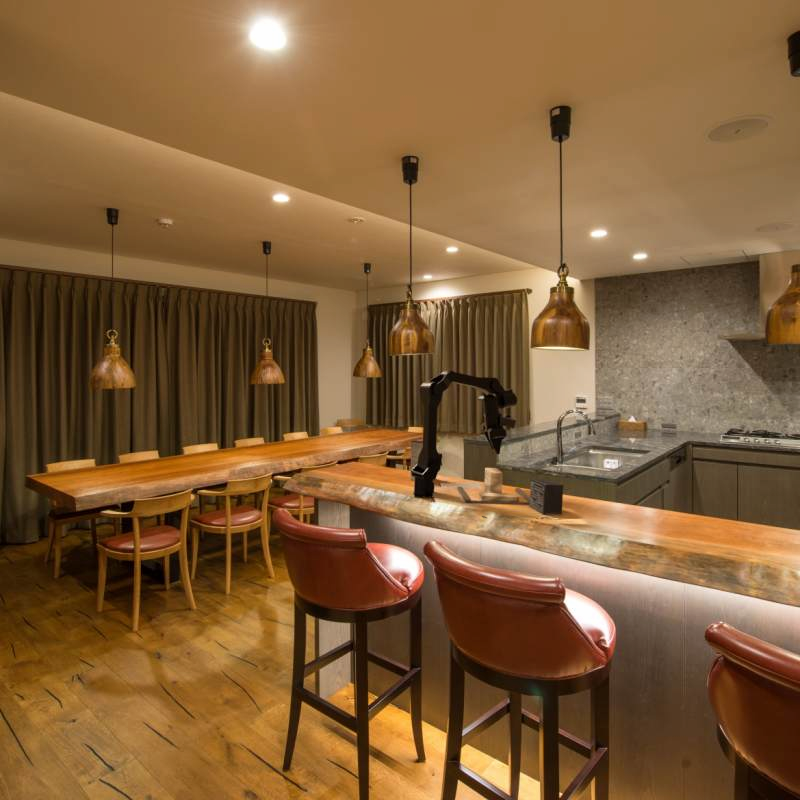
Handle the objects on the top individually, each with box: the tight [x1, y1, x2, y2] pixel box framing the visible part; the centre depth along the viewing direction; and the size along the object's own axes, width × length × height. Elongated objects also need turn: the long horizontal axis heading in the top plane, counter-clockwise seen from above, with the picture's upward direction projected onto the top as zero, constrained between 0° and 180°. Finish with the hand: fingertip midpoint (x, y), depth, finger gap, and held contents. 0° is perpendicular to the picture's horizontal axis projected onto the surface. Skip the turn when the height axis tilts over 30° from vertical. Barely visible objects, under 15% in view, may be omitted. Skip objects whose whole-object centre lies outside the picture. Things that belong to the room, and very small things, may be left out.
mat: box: [439, 482, 484, 490], centre depth 196 cm, size 16×14×1 cm
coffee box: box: [410, 438, 423, 480], centre depth 213 cm, size 9×6×16 cm
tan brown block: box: [483, 467, 504, 493], centre depth 179 cm, size 4×10×10 cm, turn 1°
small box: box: [529, 477, 564, 518], centre depth 158 cm, size 11×6×10 cm, turn 9°
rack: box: [456, 486, 530, 505], centre depth 176 cm, size 22×21×2 cm
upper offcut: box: [478, 492, 520, 502], centre depth 170 cm, size 12×5×2 cm, turn 91°
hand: (495, 451), depth 195 cm, fingers open, 9 cm apart
